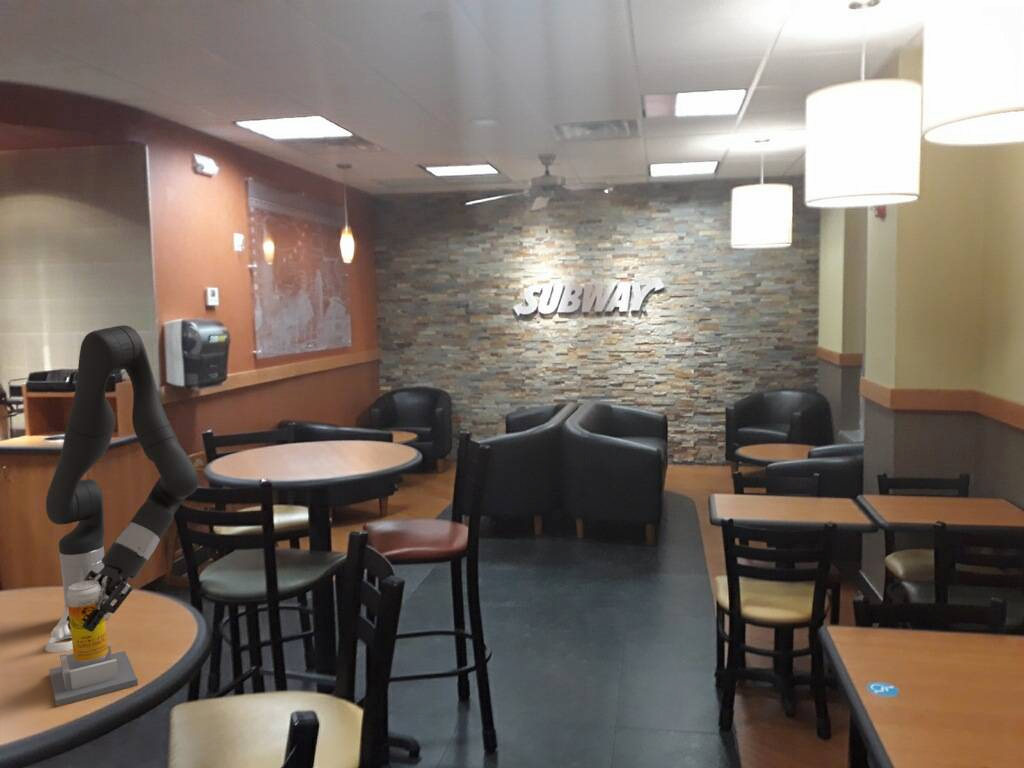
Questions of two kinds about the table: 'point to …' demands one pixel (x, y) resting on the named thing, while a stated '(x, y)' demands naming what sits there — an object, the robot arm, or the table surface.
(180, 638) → the table surface
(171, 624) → the table surface
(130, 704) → the table surface
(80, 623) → the beer can
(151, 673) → the table surface
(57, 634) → the hook
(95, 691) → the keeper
